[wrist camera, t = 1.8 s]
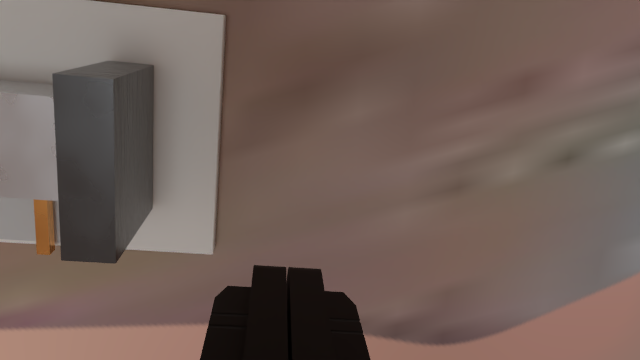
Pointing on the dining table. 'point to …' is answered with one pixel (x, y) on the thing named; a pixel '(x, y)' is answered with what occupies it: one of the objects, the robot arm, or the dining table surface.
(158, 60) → the gauge base
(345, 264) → the dining table surface
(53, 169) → the tall dark grey box
